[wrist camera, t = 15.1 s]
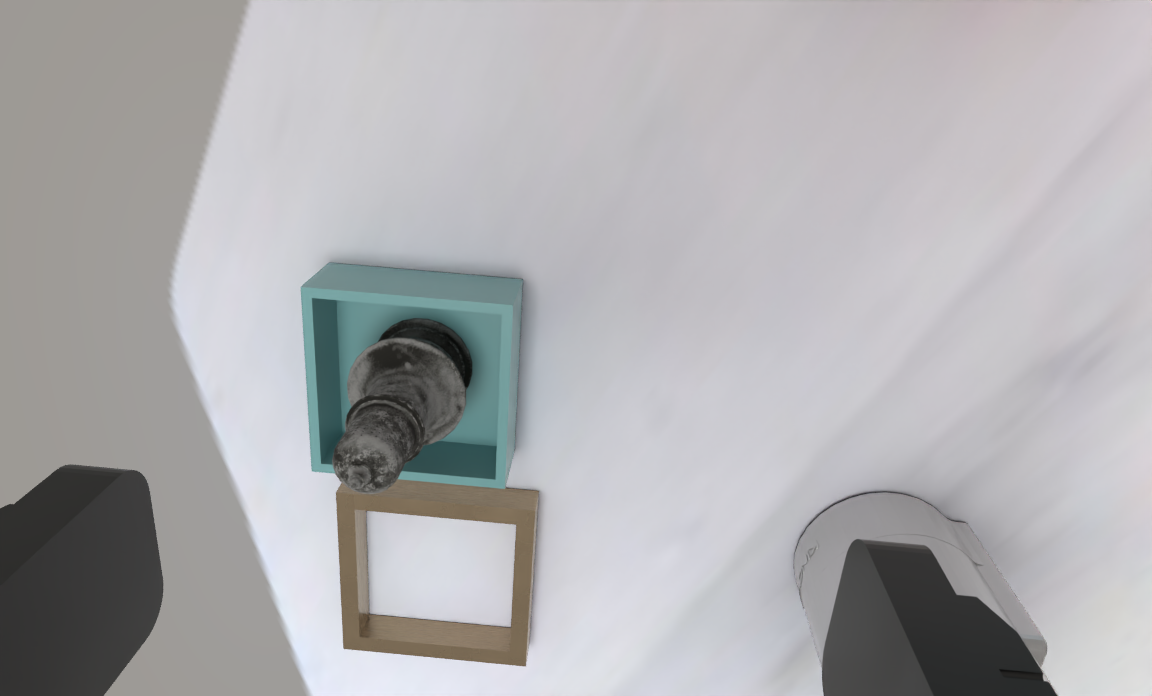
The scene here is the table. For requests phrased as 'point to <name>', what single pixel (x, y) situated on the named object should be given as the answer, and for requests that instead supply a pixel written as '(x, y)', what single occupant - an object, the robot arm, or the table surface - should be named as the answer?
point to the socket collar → (430, 634)
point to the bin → (389, 295)
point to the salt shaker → (401, 401)
